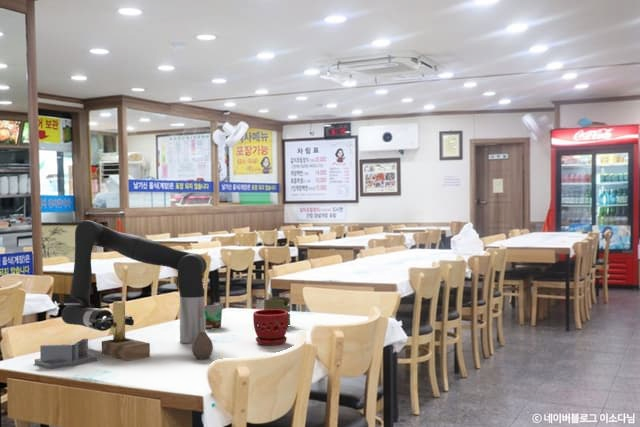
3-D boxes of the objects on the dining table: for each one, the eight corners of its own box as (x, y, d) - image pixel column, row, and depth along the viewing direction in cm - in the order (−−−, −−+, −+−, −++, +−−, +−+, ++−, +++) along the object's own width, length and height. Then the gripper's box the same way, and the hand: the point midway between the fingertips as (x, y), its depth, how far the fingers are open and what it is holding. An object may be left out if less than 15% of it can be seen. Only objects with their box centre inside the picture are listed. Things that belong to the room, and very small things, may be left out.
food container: (217, 330, 282) (217, 306, 282) (203, 329, 283) (203, 305, 283) (227, 325, 294) (227, 302, 294) (214, 325, 295) (214, 302, 295)
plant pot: (248, 341, 255) (248, 310, 255) (281, 339, 261) (281, 308, 261) (259, 347, 243) (259, 314, 243) (293, 345, 249) (293, 312, 249)
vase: (203, 361, 222) (203, 334, 222) (187, 359, 225) (187, 332, 225) (217, 357, 227) (216, 331, 227) (201, 355, 231) (201, 329, 231)
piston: (258, 299, 289) (274, 296, 299) (258, 326, 289) (274, 323, 299) (279, 300, 283) (295, 297, 293) (279, 329, 283) (295, 325, 293)
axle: (126, 352, 236) (126, 301, 236) (123, 354, 232) (123, 302, 232) (115, 352, 236) (114, 301, 236) (112, 355, 232) (111, 302, 232)
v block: (98, 361, 223) (98, 341, 223) (50, 369, 211) (50, 348, 211) (81, 356, 231) (81, 337, 231) (34, 364, 219) (34, 344, 219)
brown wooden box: (101, 354, 234) (101, 341, 234) (124, 350, 240) (124, 337, 240) (126, 360, 223) (126, 347, 223) (149, 356, 229) (149, 343, 229)
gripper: (79, 311, 239) (102, 315, 228) (115, 306, 250) (139, 310, 238) (79, 332, 239) (102, 337, 228) (116, 327, 250) (139, 332, 238)
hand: (121, 324), depth 233 cm, fingers open, 8 cm apart
